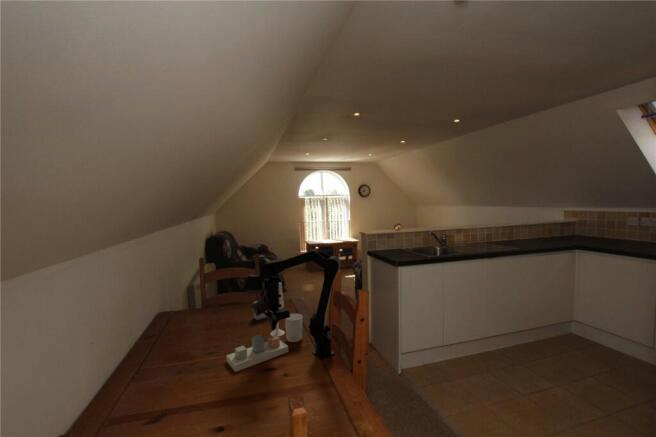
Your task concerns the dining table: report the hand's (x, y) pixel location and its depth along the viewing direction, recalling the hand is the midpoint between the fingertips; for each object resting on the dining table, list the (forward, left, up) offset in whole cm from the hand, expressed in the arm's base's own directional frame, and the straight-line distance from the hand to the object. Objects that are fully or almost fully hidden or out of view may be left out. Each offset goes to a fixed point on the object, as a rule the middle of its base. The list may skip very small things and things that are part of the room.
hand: (273, 329), depth 120 cm
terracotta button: (0, 0, -8) cm, 8 cm away
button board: (0, +7, -9) cm, 11 cm away
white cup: (+4, -12, -9) cm, 16 cm away
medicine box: (+37, -12, -9) cm, 40 cm away
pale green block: (0, +14, -8) cm, 16 cm away
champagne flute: (+14, -9, -9) cm, 19 cm away
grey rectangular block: (0, +7, -6) cm, 9 cm away
